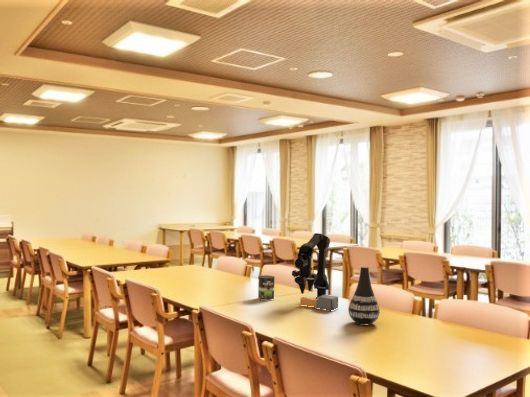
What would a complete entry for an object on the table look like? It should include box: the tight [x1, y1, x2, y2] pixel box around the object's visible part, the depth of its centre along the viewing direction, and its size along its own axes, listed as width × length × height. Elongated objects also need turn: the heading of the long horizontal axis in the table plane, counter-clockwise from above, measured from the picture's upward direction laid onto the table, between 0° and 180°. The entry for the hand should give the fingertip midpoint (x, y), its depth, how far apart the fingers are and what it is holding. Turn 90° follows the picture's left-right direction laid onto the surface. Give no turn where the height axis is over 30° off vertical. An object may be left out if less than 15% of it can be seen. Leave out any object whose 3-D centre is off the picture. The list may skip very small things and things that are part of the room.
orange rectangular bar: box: [299, 296, 316, 307], centre depth 285 cm, size 20×3×5 cm, turn 60°
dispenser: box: [315, 294, 339, 310], centre depth 281 cm, size 10×8×7 cm
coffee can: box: [257, 275, 275, 301], centre depth 306 cm, size 10×10×14 cm
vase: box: [348, 266, 381, 325], centre depth 251 cm, size 16×16×30 cm
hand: (305, 292), depth 289 cm, fingers open, 9 cm apart
